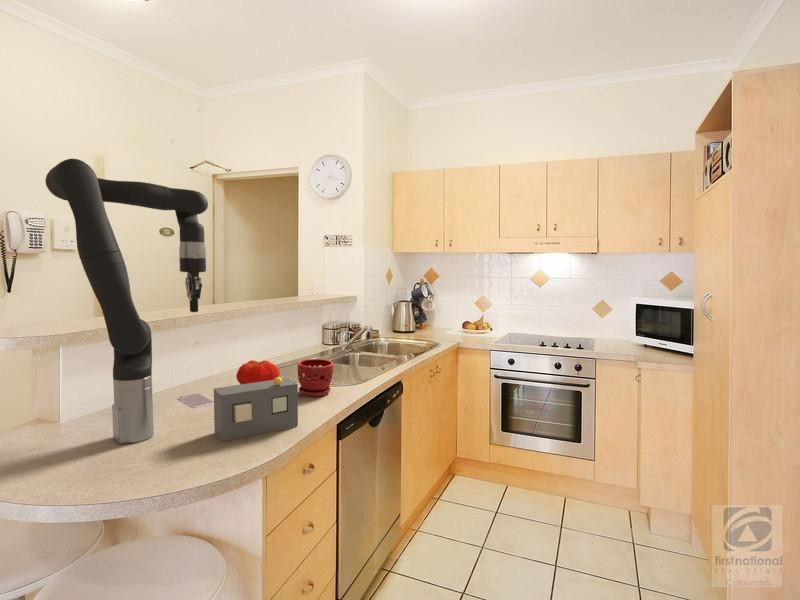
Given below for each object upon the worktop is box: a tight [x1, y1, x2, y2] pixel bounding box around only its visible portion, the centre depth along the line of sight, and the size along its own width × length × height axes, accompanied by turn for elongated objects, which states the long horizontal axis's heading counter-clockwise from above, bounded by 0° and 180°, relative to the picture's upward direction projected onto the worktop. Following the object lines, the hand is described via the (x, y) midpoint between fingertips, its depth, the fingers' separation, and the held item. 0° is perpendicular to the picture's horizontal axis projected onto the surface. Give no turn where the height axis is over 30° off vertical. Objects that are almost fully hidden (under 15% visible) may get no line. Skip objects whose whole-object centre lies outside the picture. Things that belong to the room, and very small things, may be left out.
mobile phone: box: [177, 393, 214, 409], centre depth 161 cm, size 8×1×15 cm
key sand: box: [232, 402, 252, 422], centre depth 128 cm, size 4×4×4 cm
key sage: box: [272, 396, 287, 413], centre depth 136 cm, size 4×4×4 cm
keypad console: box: [213, 376, 299, 443], centre depth 134 cm, size 8×22×15 cm, turn 125°
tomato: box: [235, 359, 281, 385], centre depth 179 cm, size 14×16×10 cm
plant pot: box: [297, 358, 334, 397], centre depth 171 cm, size 13×13×12 cm
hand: (194, 311), depth 145 cm, fingers closed
